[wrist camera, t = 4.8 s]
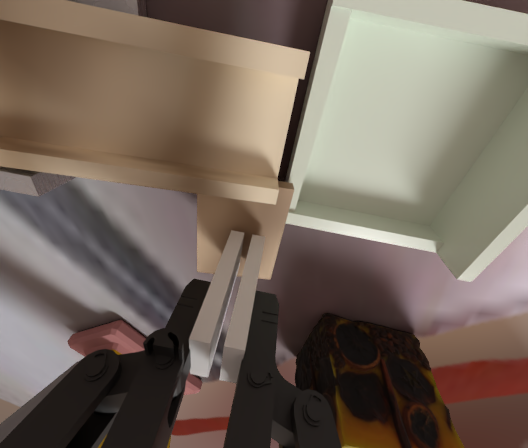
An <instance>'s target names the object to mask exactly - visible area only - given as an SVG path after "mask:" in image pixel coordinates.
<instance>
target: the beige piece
mask: <svg viewBox="0 0 528 448" xmlns="http://www.w3.org/2000/svg"><path fill="white" fill-rule="evenodd" d="M309 55H310V52H309V51H304V50H299V49H294V48H290V47H285V46H280V45H275V44H271V43H266V42H261V41H256V40H252V39H247V38H242V37H238V36H233V35H228V34H223V33H219V32H214V31H209V30H204V29H200V28H195V27H190V26H185V25H181V24H176V23H171V22H166V21H162V20H157V19H152V18H147V17H143V16H138V15H133V14H128V13H124V12H119V11H114V10H109V9H105V8H100V7H95V6H90V5H86V4H81V3H76V2H72V1H67V0H0V166H2V167H9V168H16V169H23V170H31V171H38V172H45V173H52V174H59V175H66V176H74V177H81V178H88V179H95V180H102V181H109V182H117V183H124V184H131V185H138V186H145V187H152V188H160V189H167V190H174V191H181V192H188V193H195V194H197V272H203V273H213V274H215V271H216V269H217V266H218V263H219V261H220V258H221V256H222V253H223V251H224V248H225V246H226V243H227V240H228V238H229V235H230V233H231V230H233V231H238V232H243V233H244V238H243V245H242V252H241V259H240V265H239V269H238V273H237V276H241V277H242V274H243V270H244V266H245V262H246V258H247V254H248V250H249V246H250V242H251V238H252V235H258V236H263V237H265V242H264V247H263V253H262V259H261V264H260V270H259V276H258V278H260V279H269V280H270V279H271V275H272V272H273V268H274V264H275V260H276V257H277V253H278V249H279V246H280V242H281V238H282V234H283V231H284V227H285V223H286V219H287V216H288V212H289V208H290V204H291V201H292V197H293V193H294V186H293V183H289V182H282V181H278V174H279V169H280V164H281V160H282V155H283V150H284V146H285V141H286V136H287V132H288V127H289V122H290V118H291V113H292V108H293V104H294V99H295V94H296V90H297V85H298V80H299V79H304V78H305V73H306V69H307V64H308V60H309Z"/></svg>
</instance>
